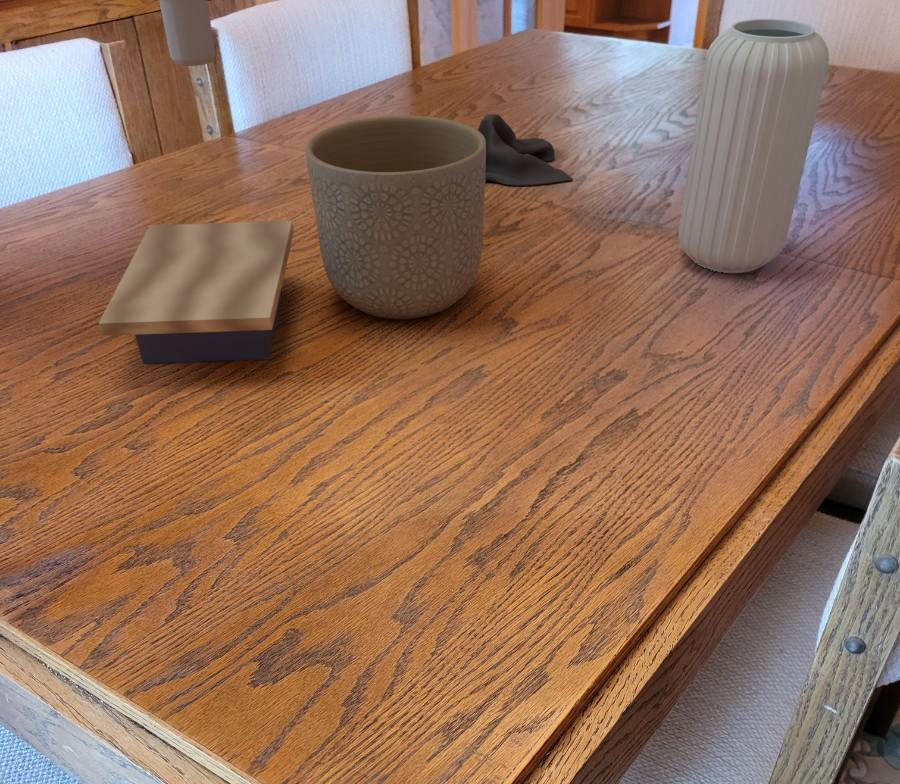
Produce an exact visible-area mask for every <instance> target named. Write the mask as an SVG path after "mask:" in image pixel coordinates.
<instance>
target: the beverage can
mask: <svg viewBox="0 0 900 784" xmlns="http://www.w3.org/2000/svg"><path fill="white" fill-rule="evenodd" d="M158 1H159V7H160V11H161V12H160V13H161V17H162V21H163V26H164V32H165V38H166V42H167V47H168V48H167V49H168V52H169V53H168V54H169V57H170V59H171V60H172V61H173V62H174V63H175V64H176V65H178V66H184V67H196V66H203V65H207V64H210V63H213V61H214V59H215V56H216V48H215V42H214V35H213V30H212V24H211V23H212V22H211V16H210V9H209V2H208V1H209V0H158Z"/></svg>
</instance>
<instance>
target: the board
mask: <svg viewBox="0 0 900 784" xmlns="http://www.w3.org/2000/svg"><path fill="white" fill-rule="evenodd" d="M293 222H294V221H293V220H272V221H268V220H267V221H243V222H241V221H240V222H239V221H238V222H211V223H210V222H209V223H208V222H207V223H180V224H176V223H175V224H153V225H152V224H151V225H149V226H148V227H147V230H146V232H145V234H144V235H143V238H141V239H142V240H141V241H140V243H139V245H138V247H137V249H136V250H135V253H134V255H133V256H132V258H131V260H130V262H129V264H128V266H127V268H126V269H125V272H124V274H123V276H122V277H121V280H120V281H119V284H118V285H117V287H116V289H115V291H114V293H113V295H112V296H111V299H110V300H109V303H108V304H107V306H106V308H105V310H104V312H103V314H102V316H101V318H100V320H99V322H98V326H99V329H100V332H101V335H102V336H133V335H134V336H135V335H137V334H166V333H194V332H223V331H252V330H272V328H273V324H274V319H275V315H276V310H277V306H278V301H279V297H280V292H281V288H282V289H283V282H284V278H285V273H286V270H287V264H288V260H289V256H290V251H291V247H292V242H293V238H294V233H295V230H294V223H293Z"/></svg>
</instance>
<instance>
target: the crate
mask: <svg viewBox="0 0 900 784" xmlns="http://www.w3.org/2000/svg"><path fill="white" fill-rule="evenodd" d="M283 296H284V291H283V287H282V288H281V292H280V297H279V301H278V306H277V310H276V315H275V319H274V324H273V328H272V330H252V331H223V332H194V333H166V334H137V335H134V336H135V339H136V343H137V347H138V351H139V353H140V357H141V361H142V364H167V363H168V364H169V363H171V364H172V363H197V362H199V363H200V362H201V363H202V362H225V361H226V362H227V361H229V362H230V361H251V360H252V361H254V360H257V361H258V360H269V359H270V357H271V351H272V348H273V347H272V346H273V342H274V338H275V333H276V328H277V324H278V320H279V315H280V309H281V305H282V301H283Z"/></svg>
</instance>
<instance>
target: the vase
mask: <svg viewBox="0 0 900 784" xmlns="http://www.w3.org/2000/svg"><path fill="white" fill-rule="evenodd" d="M829 63H830V52H829V48H828V45H827V43H826V41H825V40H824V38H823V37H822V35H820V34H819V33H818V32H816V29H815V27H814V26H812V25H811V24H808V23H804V22H801V21H798V20H789V19H780V18H756V19H755V18H754V19H753V18H752V19H746V20H740V21H737V22H734V23H733V24H732V25H731V26H730V27H729V28H727V29H725V30H724V31H722V32H721V33H719V34H718V36H716V37H715V38H714V40H713V41H712V42H711V44H710V45H709V47H708V48H707V52H706V55H705V60H704V64H703V65H704V66H703V71H702V79H701V85H700V92H699V97H698V105H697V110H696V116H695V123H694V129H693V136H692V142H691V148H690V155H689V160H688V168H687V173H686V180H685V185H684V186H685V187H684V193H683V201H682V204H681V211H680V219H679V224H678V231H677V236H678V237H677V238H678V242H679V245H680V247H681V249H682V251H683V252H684V253H685V254H686V256H688V258H690V259H691V260H692V261H693V262H694V263H695V264H696V263H697V264H696V265H698V266H699V265H700V266H699V267H701V266H702V267H701V268H703V267H704V269H705V268H708V269H710V270H709V271H712V270H713V271H712V272H716V271H717V273H721V272H723V273H722V274H743V273H749V272H753V271H755V270H757V269H760V268H761V267H763V266H765V265H767V264H769V263H770V262H772V261H774V259H776V258H777V257H778V256H779V254H780V253H781V252H782V250H783V249H784V247H785V245H786V242H787V239H788V234H789V230H790V226H791V223H792V218H793V215H794V210H795V206H796V201H797V197H798V193H799V189H800V186H801V181H802V177H803V172H804V169H805V165H806V160H807V156H808V151H809V147H810V143H811V140H812V135H813V131H814V128H815V123H816V119H817V116H818V115H817V114H818V110H819V106H820V102H821V97H822V94H823V90H824V86H825V81H826V77H827V73H828V68H829ZM708 269H707V270H708Z"/></svg>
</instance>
